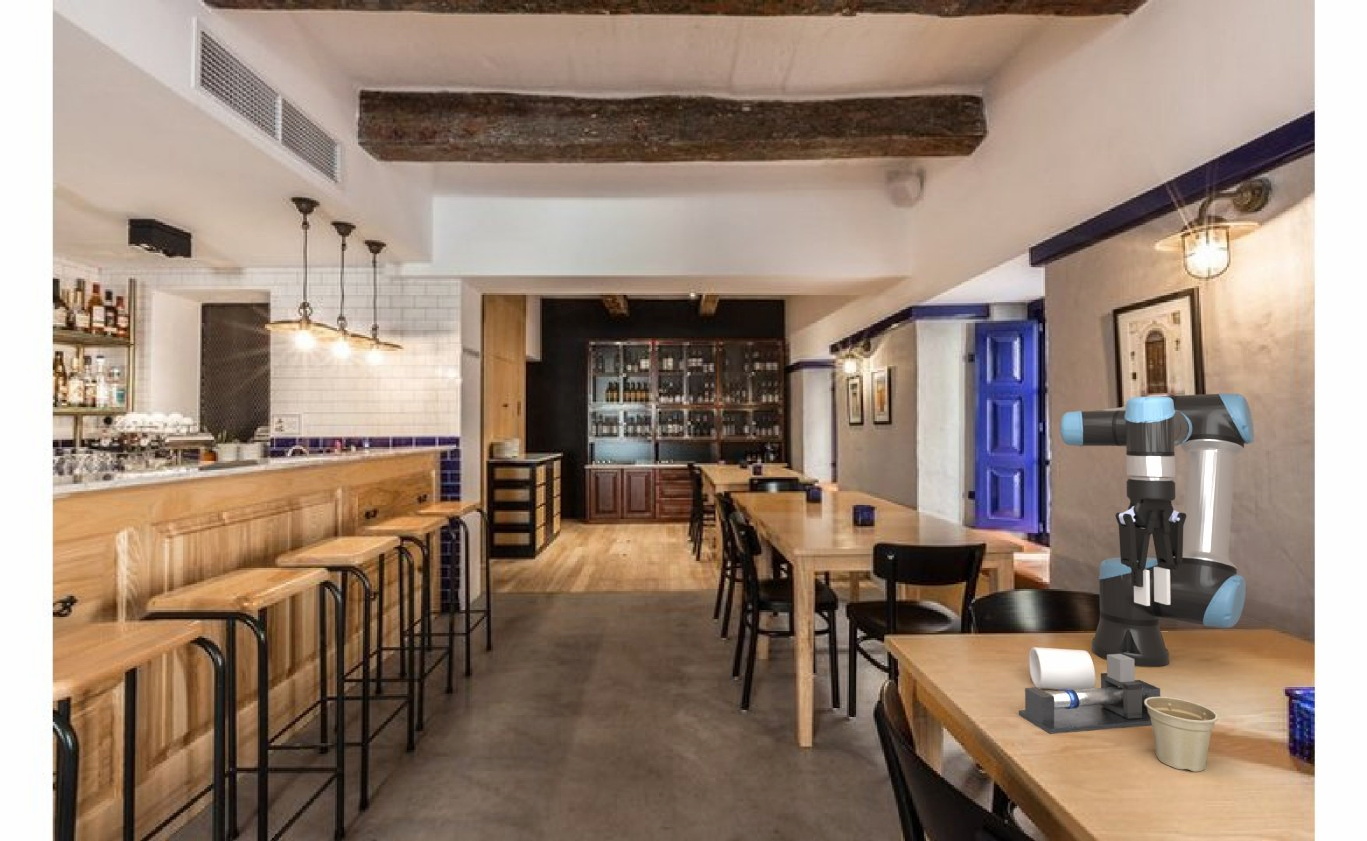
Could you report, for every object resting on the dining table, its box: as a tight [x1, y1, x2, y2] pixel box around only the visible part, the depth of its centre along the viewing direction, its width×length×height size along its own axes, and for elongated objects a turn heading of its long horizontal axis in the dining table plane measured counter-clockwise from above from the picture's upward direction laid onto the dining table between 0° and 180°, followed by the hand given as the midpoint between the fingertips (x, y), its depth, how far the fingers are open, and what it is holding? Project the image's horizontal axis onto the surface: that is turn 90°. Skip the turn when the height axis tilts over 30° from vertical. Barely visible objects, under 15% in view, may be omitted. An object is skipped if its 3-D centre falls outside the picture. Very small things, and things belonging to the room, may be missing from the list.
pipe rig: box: [1018, 679, 1161, 735], centre depth 121 cm, size 24×8×6 cm, turn 100°
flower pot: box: [1144, 696, 1219, 773], centre depth 105 cm, size 9×9×9 cm
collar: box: [1100, 654, 1142, 719], centre depth 122 cm, size 3×6×10 cm, turn 10°
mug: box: [1028, 646, 1096, 691], centre depth 137 cm, size 12×10×8 cm
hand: (1152, 603), depth 123 cm, fingers open, 4 cm apart
